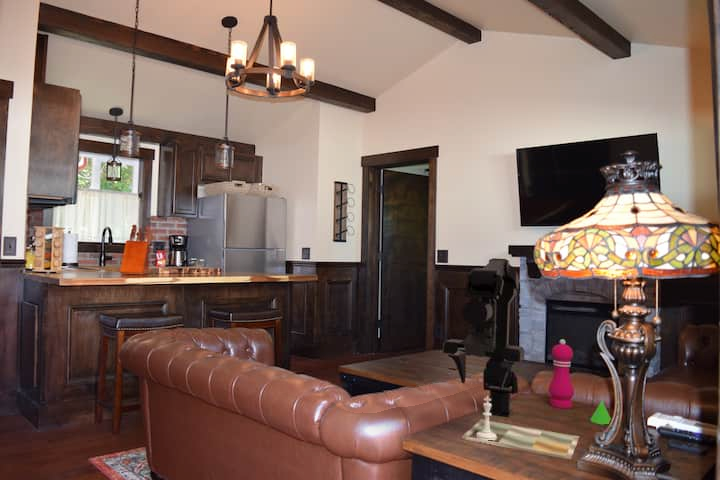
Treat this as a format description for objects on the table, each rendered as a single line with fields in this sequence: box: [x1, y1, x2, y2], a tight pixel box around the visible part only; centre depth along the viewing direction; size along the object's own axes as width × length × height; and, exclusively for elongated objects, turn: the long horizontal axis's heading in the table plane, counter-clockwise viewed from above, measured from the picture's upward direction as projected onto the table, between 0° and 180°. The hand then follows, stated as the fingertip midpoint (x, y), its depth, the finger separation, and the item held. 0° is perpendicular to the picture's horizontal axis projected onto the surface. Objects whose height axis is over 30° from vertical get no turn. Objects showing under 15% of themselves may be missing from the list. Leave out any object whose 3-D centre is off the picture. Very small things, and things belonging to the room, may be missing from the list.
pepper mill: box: [548, 338, 575, 409], centre depth 166 cm, size 7×7×20 cm
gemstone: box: [590, 400, 612, 425], centre depth 151 cm, size 6×6×6 cm
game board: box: [461, 419, 580, 460], centre depth 133 cm, size 17×24×1 cm
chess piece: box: [475, 395, 498, 441], centre depth 134 cm, size 5×5×10 cm
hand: (481, 385), depth 133 cm, fingers open, 9 cm apart
